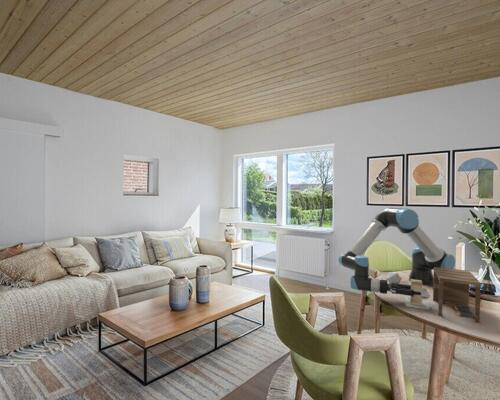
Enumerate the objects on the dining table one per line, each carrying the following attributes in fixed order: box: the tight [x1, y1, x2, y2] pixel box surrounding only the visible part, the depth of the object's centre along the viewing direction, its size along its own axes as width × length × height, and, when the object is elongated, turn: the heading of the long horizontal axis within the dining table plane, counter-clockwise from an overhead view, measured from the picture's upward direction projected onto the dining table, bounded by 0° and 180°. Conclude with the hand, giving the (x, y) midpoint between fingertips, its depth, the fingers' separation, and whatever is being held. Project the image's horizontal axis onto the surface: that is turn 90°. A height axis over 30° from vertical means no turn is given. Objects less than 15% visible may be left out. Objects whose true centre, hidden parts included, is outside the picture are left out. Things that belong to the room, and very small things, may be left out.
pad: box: [404, 298, 431, 310], centre depth 159 cm, size 12×11×1 cm
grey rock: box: [385, 271, 402, 284], centre depth 195 cm, size 8×9×10 cm
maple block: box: [409, 279, 423, 306], centre depth 159 cm, size 5×5×12 cm
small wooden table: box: [432, 267, 482, 324], centre depth 151 cm, size 25×16×18 cm, turn 154°
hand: (427, 292), depth 157 cm, fingers closed on maple block, 5 cm apart
